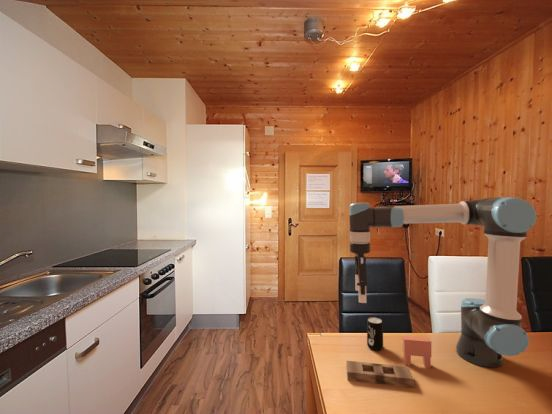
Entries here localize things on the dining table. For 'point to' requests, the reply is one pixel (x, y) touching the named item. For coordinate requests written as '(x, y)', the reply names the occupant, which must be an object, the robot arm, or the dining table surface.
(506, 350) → the robot arm
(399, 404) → the dining table surface
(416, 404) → the dining table surface
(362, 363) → the grey-brown slotted holder
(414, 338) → the pink pronged block
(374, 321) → the beverage can
